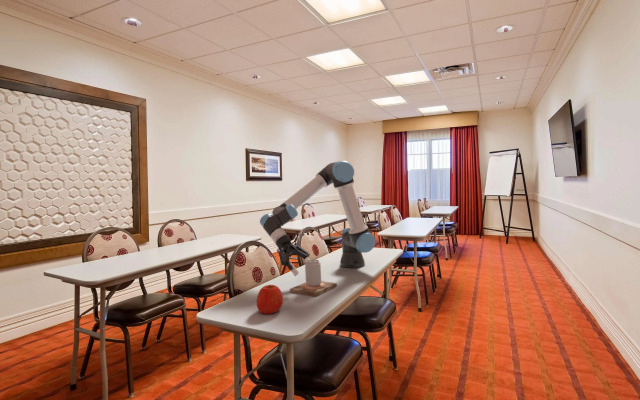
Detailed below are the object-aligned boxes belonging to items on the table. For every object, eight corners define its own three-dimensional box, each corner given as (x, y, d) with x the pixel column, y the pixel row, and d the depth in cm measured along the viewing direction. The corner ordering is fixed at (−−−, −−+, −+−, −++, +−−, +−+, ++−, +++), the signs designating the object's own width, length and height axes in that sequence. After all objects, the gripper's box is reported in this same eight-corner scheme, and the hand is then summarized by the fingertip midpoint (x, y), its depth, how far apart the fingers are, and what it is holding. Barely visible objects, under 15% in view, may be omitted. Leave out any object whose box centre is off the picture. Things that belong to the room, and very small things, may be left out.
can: (302, 285, 165) (301, 261, 165) (313, 282, 171) (312, 258, 170) (313, 288, 160) (312, 262, 160) (324, 284, 166) (323, 259, 165)
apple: (286, 313, 135) (285, 286, 135) (259, 317, 132) (258, 290, 131) (280, 304, 145) (279, 280, 145) (254, 308, 142) (253, 283, 141)
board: (312, 282, 177) (312, 278, 177) (336, 286, 169) (336, 282, 169) (290, 291, 162) (289, 288, 162) (315, 296, 154) (315, 292, 154)
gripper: (292, 240, 187) (316, 270, 179) (260, 248, 167) (285, 282, 159) (299, 231, 184) (324, 261, 176) (267, 237, 163) (293, 272, 156)
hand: (305, 271), depth 167 cm, fingers open, 13 cm apart
